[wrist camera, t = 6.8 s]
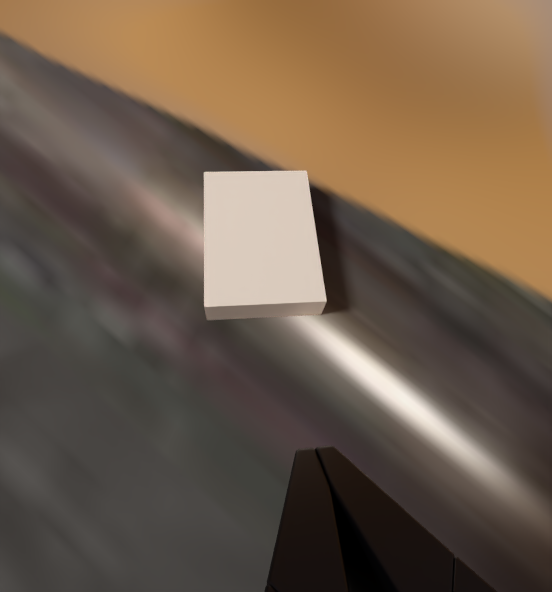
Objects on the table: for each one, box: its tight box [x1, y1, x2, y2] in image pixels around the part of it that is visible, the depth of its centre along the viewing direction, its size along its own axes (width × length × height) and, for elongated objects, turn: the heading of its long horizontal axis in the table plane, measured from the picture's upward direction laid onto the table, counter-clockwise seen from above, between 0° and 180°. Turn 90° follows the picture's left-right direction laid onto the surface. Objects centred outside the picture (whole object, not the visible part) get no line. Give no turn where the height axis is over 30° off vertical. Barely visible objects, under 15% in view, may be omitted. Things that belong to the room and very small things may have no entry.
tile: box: [204, 171, 327, 320], centre depth 25 cm, size 2×7×10 cm
